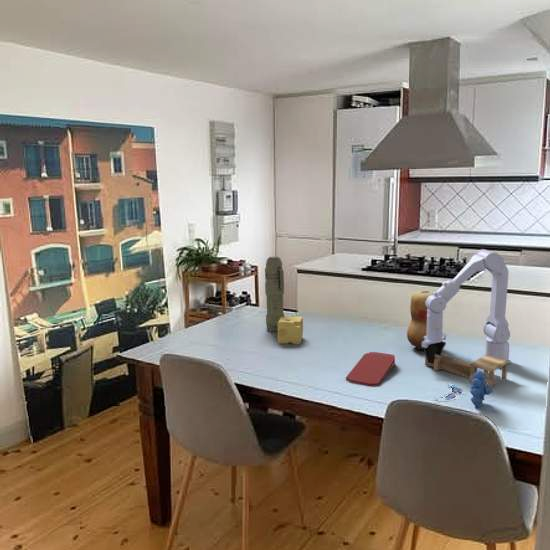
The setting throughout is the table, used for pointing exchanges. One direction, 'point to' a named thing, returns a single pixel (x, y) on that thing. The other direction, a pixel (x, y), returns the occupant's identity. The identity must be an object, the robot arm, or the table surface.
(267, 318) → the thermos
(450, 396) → the decorative blades
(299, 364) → the table surface
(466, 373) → the brown wooden stepped bar
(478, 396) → the grapes
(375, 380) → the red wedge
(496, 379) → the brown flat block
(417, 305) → the butternut squash
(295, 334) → the cheese
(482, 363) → the small wooden table
